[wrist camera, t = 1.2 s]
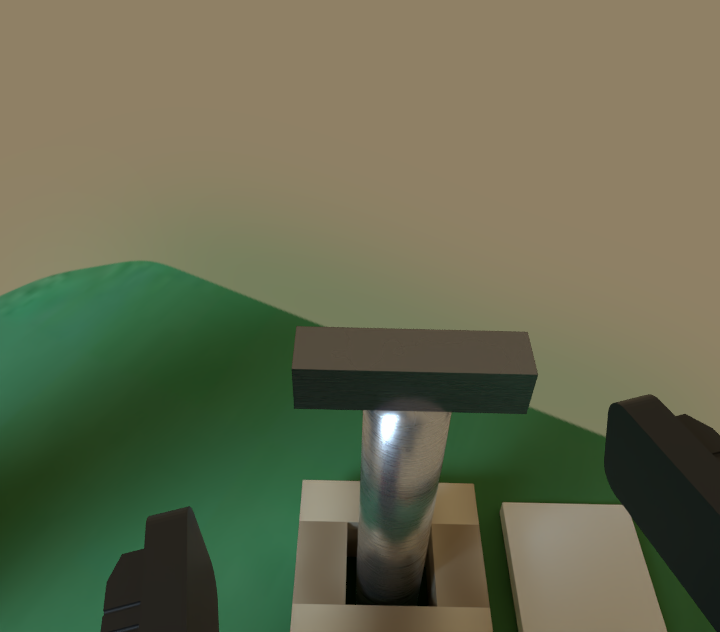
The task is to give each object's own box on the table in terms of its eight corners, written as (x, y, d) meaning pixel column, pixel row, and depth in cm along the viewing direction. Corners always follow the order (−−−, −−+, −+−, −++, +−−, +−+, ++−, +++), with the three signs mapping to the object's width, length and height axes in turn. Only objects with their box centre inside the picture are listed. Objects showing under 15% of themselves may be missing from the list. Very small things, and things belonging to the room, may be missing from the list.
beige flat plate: (529, 705, 32) (534, 697, 31) (499, 511, 39) (502, 502, 38) (681, 707, 32) (688, 700, 31) (622, 514, 39) (627, 505, 38)
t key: (306, 625, 34) (290, 382, 22) (310, 564, 36) (297, 314, 24) (467, 629, 34) (541, 388, 22) (461, 567, 36) (524, 320, 24)
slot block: (291, 688, 32) (288, 658, 29) (304, 515, 38) (302, 479, 36) (485, 692, 32) (496, 662, 30) (465, 519, 39) (473, 483, 36)
